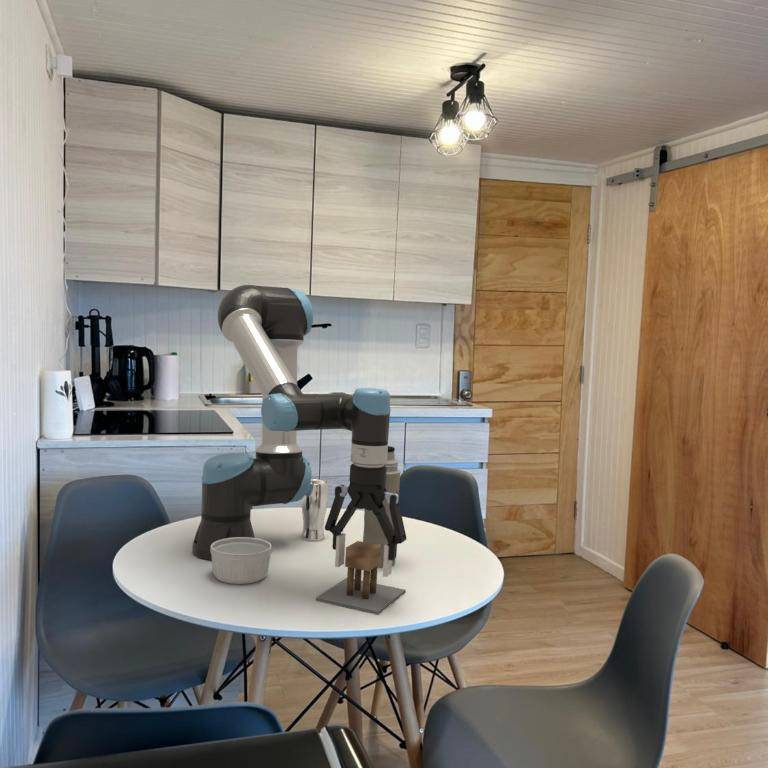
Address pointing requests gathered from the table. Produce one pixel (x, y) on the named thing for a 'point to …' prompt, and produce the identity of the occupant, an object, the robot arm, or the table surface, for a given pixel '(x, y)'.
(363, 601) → the mat
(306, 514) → the silver cocktail shaker
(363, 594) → the stool
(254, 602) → the table surface
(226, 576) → the ramekin
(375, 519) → the thermos bottle
